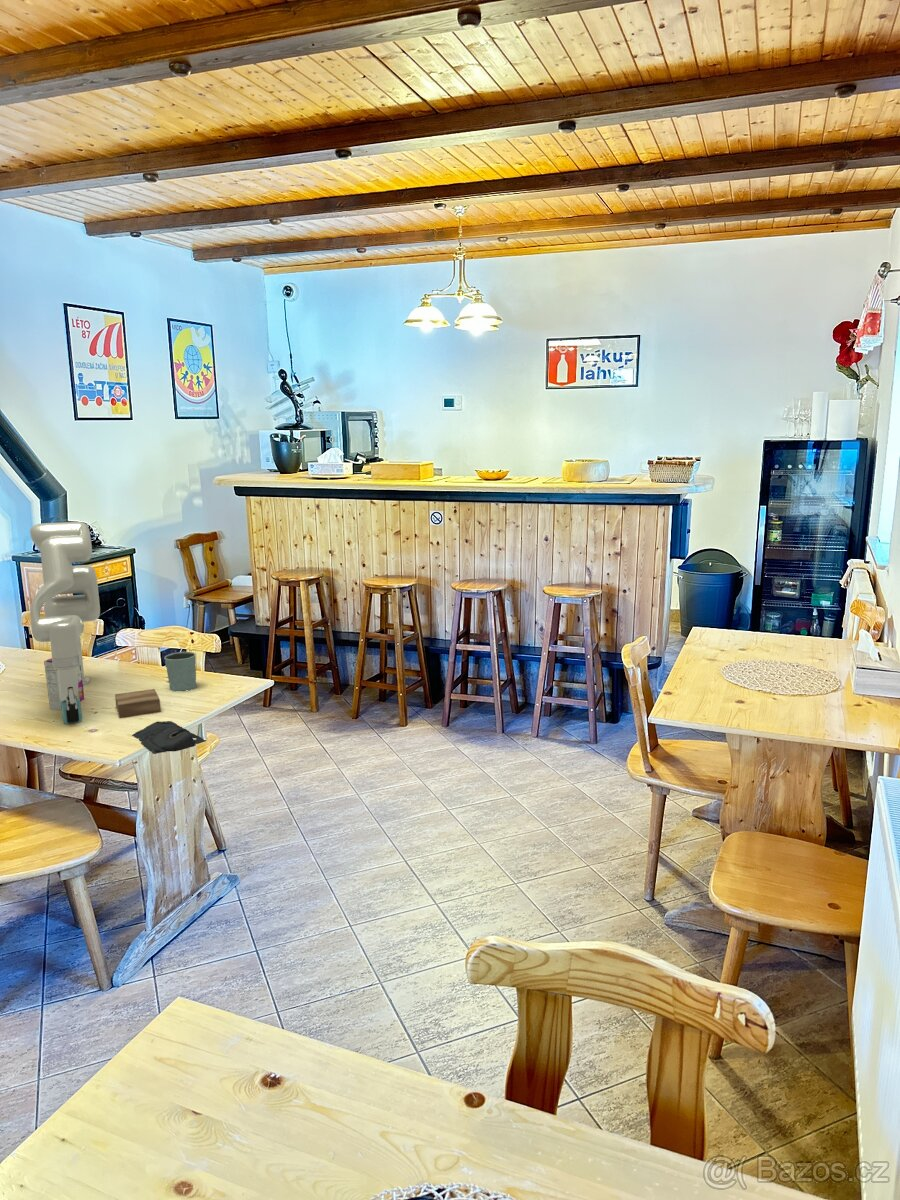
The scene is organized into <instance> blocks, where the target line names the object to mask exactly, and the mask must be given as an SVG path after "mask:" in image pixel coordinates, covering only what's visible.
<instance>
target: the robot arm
mask: <svg viewBox="0 0 900 1200" xmlns="http://www.w3.org/2000/svg"><path fill="white" fill-rule="evenodd" d="M29 534H30V538H31V540H32V542H33V544H34V546H36V548H37V549H38V550H39V552H40V559H41V560H40V561H41V567H42V578H43V579H42V580H43V585H42V587H41V588H40V590H38V592H37V593H36V594H35V595H34V597H33V599H32V602H31V604H30V611H29V612H30V613H29V617H30V626H31V627H30V629H31V634H32V638H33V639H34V640H35V641H36V642H39V643H46V642H47V643H48V642H50V643H49V644H50V652H51V658H52V663H53V668H54V669H57V679H58V689H59V697H60V700H61V701H62V702H63V700H66V705H67V710H66V714H67V722H68V723H69V724H72V723H71V722H75V723H78V722H77V721H79V714H78V708H77V702H76V699H78V698H79V697H78V678H77V668H76V667H78V666H81V676H82V683H83V687H85V686H86V685H89V683H90V678H89V677H87V676H85V670H84V662H83V660H84V659H83V653H82V652H83V650H82V643H81V642H82V641H81V636H82V634H83V633H84V630H85V625H84V623H87V622H93V621H97V620H98V619H99V618H100V614H101V606H100V596H99V583H98V578H97V577H98V576H97V573H96V571H95V569H94V567H93V566H91V565H88V564H79V565H77V564H76V565H73V563H80V562H82V563H83V562H84V563H85V562H88V561H90V560H91V557H92V555H93V545H92V539H91V531H90V527H89V526H88V524H86V522H82V521H69V522H68V521H66V522H65V521H63V522H45V523H42V522H41V523H37V524H34V525H32V526H31V527H30V530H29ZM70 594H71V595H70ZM73 594H75V595H73ZM76 594H77V595H76ZM58 595H62V596H58ZM42 607H43V612H44V617H42V616H41V610H42ZM67 698H69V700H67ZM68 702H70V703H69V704H68Z"/></svg>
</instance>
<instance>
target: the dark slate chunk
mask: <svg viewBox="0 0 900 1200" xmlns="http://www.w3.org/2000/svg"><path fill="white" fill-rule="evenodd" d="M131 736H132V737H134V738H135V739H136V740H138V741H139V742H140V745H142V746H143V747H144V748H145V749H146V750H148V751H149V752H151V753H152V754H153V755H157V754H161V753H167V752H179V751H183V750H185V749H190V748H193V747H195V746H196V745H198V744H201V743H203V742H206V740H205V739H204V738H203V737H201V736H199V735H197V734H195V733H192V732H191V731H190V730H188V729H186V728H184V727H182V726H180V725H178V724H177V723H175V722H173V720H167V721H166V720H165V721H164V720H163V721H154V722H152V723H151V724H149V725H147V726H145V727H144V728H143V729H140V730H138V731H136V732H135V733H133V734H132V735H131Z"/></svg>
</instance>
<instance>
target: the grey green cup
mask: <svg viewBox="0 0 900 1200" xmlns="http://www.w3.org/2000/svg"><path fill="white" fill-rule="evenodd" d="M196 659H197V657H196V653H195V652H192V651H178V652H171V653H169V654H167V655H165V656H164V662H165V667H166V672H167V673H166V674H167V679H168V685H169V689H170V691H171V690H172V692H176V691H182V692H187V691H186V690H189V691H192V690H194V689H196V688H197V666H196V665H197V664H196V663H197V662H196V661H197V660H196ZM191 689H192V690H191Z"/></svg>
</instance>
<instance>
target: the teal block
mask: <svg viewBox="0 0 900 1200" xmlns="http://www.w3.org/2000/svg"><path fill="white" fill-rule="evenodd" d="M78 697H79V696H78ZM67 700H69V698H67ZM76 702H77V708H78V714H79V721H77V722H71V723H68V722H67V714H66V710H67V705H66V700H63V702H62V701H61V707H62V710H61V716H62V722H63V724H64V725H68V724H74V723H79V722H81V723H82V722H83V716H82V706H81V701H80V699H79V698H78V699H76ZM69 703H70V702H68V704H69Z"/></svg>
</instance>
